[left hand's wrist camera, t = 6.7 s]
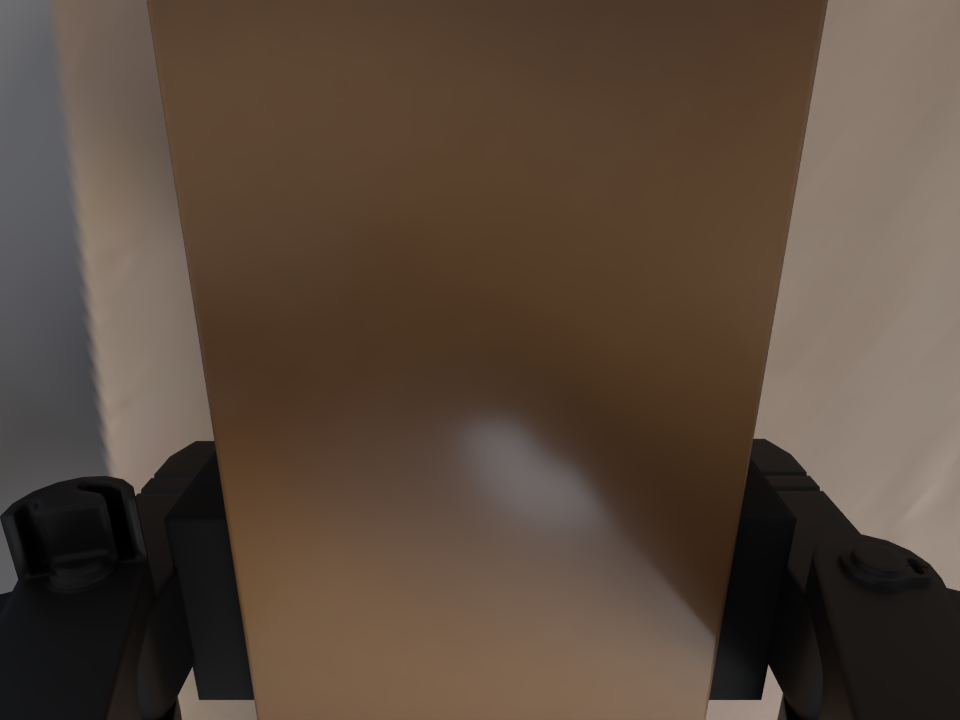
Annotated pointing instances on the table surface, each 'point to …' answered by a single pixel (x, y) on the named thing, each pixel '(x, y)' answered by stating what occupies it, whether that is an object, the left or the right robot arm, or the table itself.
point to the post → (484, 335)
